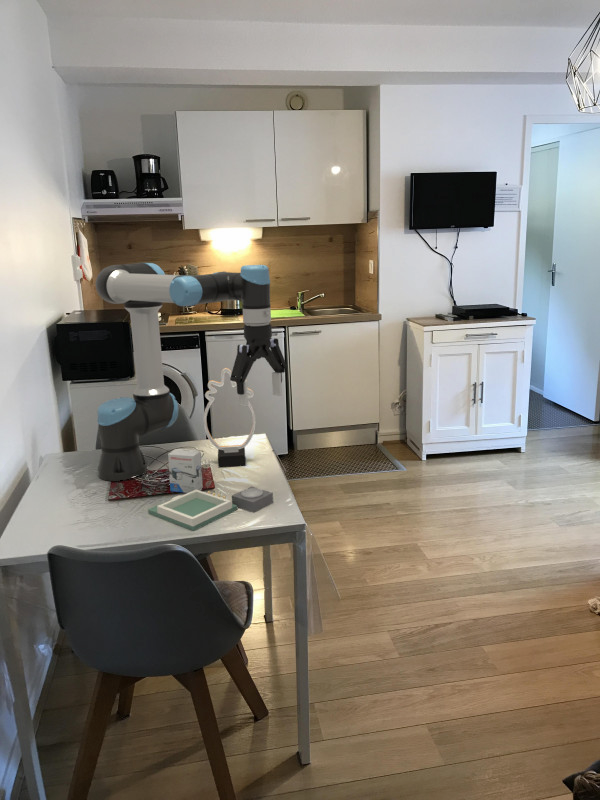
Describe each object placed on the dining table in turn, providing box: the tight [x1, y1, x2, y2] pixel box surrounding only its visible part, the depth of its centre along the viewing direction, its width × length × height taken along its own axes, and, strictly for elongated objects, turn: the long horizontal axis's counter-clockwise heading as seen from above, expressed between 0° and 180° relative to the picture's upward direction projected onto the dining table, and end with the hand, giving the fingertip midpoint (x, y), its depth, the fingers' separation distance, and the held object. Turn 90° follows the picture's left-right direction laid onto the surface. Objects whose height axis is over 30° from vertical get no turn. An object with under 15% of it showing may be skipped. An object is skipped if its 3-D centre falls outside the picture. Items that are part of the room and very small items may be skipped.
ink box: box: [167, 448, 204, 494], centre depth 189 cm, size 9×5×12 cm, turn 74°
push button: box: [231, 486, 274, 514], centre depth 179 cm, size 8×8×4 cm
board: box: [147, 489, 238, 532], centre depth 175 cm, size 18×16×3 cm
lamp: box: [203, 367, 257, 469], centre depth 209 cm, size 17×9×32 cm, turn 96°
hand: (260, 400), depth 179 cm, fingers open, 13 cm apart
